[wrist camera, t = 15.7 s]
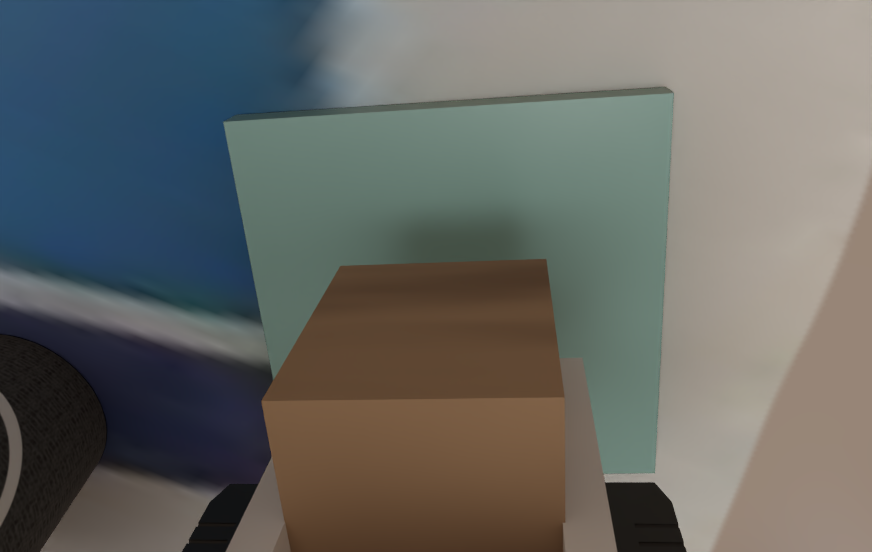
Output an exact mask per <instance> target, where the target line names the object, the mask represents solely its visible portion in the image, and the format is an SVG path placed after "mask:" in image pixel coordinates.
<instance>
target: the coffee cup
mask: <svg viewBox="0 0 872 552" xmlns="http://www.w3.org/2000/svg"><path fill="white" fill-rule="evenodd" d="M106 436H107V431H106V422H105V417H104V413H103V410H102V408H101V405H100V403H99V401H98V399H97V397H96V395H95V393H94V392H93V390H92V389H91V387H90V386H89V384H88V383H87V382H86V381H85V379H84V378H83V377H82V376H81V375H80V374H79V373H78V372H77V371H76V370H75V369H74V368H73V367H72V366H71V365H70V364H69V363H67V362H66V361H65V360H63V359H62V358H61V357H59V356H58V355H56V354H55V353H53V352H51V351H50V350H48V349H46V348H44V347H42V346H40V345H38V344H35V343H33V342H30V341H28V340H25V339H21V338H17V337H13V336H8V335H0V552H40V551H41V549H42V548H43V546H44V544H45V543H46V541H47V540H48V538H49V537H50V535H51V534H52V532H53V531H54V529H55V528H56V526H57V525H58V523H59V522H60V520H61V519H62V517H63V516H64V514H65V512H66V511H67V509H68V508H69V506H70V505H71V503H72V502H73V500H74V499H75V497H76V496H77V494H78V493H79V491H80V490H81V488H82V487H83V485H84V484H85V482H86V480H87V479H88V477H89V476H90V474H91V473H92V471H93V470H94V468H95V467H96V465H97V464H98V462H99V460H100V458H101V456H102V454H103V452H104V448H105V444H106Z"/></svg>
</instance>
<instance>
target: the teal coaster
mask: <svg viewBox="0 0 872 552" xmlns="http://www.w3.org/2000/svg"><path fill="white" fill-rule="evenodd" d="M673 99H674V93H673V92H672V91H670V90H669V89H668V88H666V87H658V88H642V89H627V90H612V91H596V92H581V93H566V94H550V95H535V96H519V97H504V98H489V99H473V100H458V101H442V102H427V103H412V104H396V105H381V106H365V107H350V108H335V109H319V110H304V111H289V112H273V113H258V114H242V115H235V116H233V117H231V118H229V119H228V120H226V121H224V122H223V123H224V128H225V133H226V138H227V143H228V149H229V154H230V159H231V164H232V169H233V174H234V180H235V185H236V190H237V195H238V200H239V206H240V211H241V216H242V221H243V226H244V231H245V237H246V242H247V247H248V252H249V257H250V262H251V268H252V273H253V278H254V283H255V288H256V293H257V299H258V304H259V309H260V314H261V319H262V324H263V330H264V335H265V340H266V345H267V350H268V355H269V361H270V366H271V371H272V376H273V380H274V378H275V377H276V375H277V373H278V372H279V370H280V368H281V366H282V365H283V363H284V361H285V360H286V358H287V356H288V354H289V353H290V351H291V349H292V348H293V346H294V344H295V343H296V341H297V339H298V337H299V336H300V334H301V332H302V331H303V329H304V327H305V325H306V324H307V322H308V320H309V319H310V317H311V315H312V313H313V312H314V310H315V308H316V307H317V305H318V303H319V301H320V300H321V298H322V296H323V295H324V293H325V291H326V289H327V288H328V286H329V284H330V283H331V281H332V279H333V278H334V276H335V274H336V272H337V271H338V269H339V267H340V266H350V265H380V264H409V263H438V262H467V261H497V260H526V259H546V260H547V267H548V275H549V283H550V290H551V298H552V305H553V313H554V320H555V328H556V336H557V343H558V351H559V358H583V364H584V369H585V375H586V381H587V386H588V392H589V397H590V403H591V408H592V414H593V419H594V425H595V431H596V436H597V442H598V447H599V453H600V458H601V464H602V469H603V474H613V473H655V459H656V439H657V419H658V399H659V379H660V359H661V339H662V319H663V299H664V279H665V259H666V239H667V219H668V199H669V179H670V159H671V139H672V119H673Z"/></svg>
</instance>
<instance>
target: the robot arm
mask: <svg viewBox="0 0 872 552" xmlns="http://www.w3.org/2000/svg"><path fill="white" fill-rule="evenodd" d="M560 366H561V373H562V381H563V388H564V396H565V523H563V552H686V548H685V547H684V542H683V538H682V535H681V532H680V528H678V522H677V518H676V515H675V512H674V508H673V505H672V502H671V501H670V499H669V498H668V497H667V496H666V495H665V494H664V493H663V492H662V491H661V489H660V488H659V487H658V486H657V485H656V484H655V483H605V480H604V475H603V469H602V464H601V458H600V453H599V447H598V442H597V436H596V431H595V425H594V419H593V414H592V408H591V403H590V397H589V392H588V386H587V381H586V375H585V369H584V364H583V358H560ZM182 552H291V550H290V545H289V540H288V535H287V530H286V525H285V522H284V517H283V512H282V507H281V501H280V496H279V491H278V486H277V480H276V475H275V470H274V465H273V460H272V457H271V459H270V462H269V464H268V466H267V468H266V470H265V472H264V474H263V476H262V478H261V480H260V482H259V484H230V485H229V486H227V487H226V488H225V489H224V490H223V491H222V492H221V493H220V494H219V495H217V496H216V497H215V498H214V499H213V500H212V501H211V502H210V503H209V505H208V507H207V508H206V510H205V512H204V514H203V515H202V517H201V519H200V521H199V525H198V527H196V528H195V530H194V532H193V533H192V535H191V537H190V539H189V544H186V546H185V548H184V549H183V551H182Z"/></svg>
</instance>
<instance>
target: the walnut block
mask: <svg viewBox="0 0 872 552" xmlns="http://www.w3.org/2000/svg"><path fill="white" fill-rule="evenodd" d="M261 402H262V408H263V413H264V418H265V423H266V428H267V434H268V439H269V444H270V449H271V454H272V460H273V465H274V470H275V475H276V480H277V486H278V491H279V496H280V501H281V507H282V512H283V517H284V522H285V525H286V530H287V535H288V540H289V545H290V550H291V552H563V523H565V396H564V388H563V381H562V373H561V366H560V358H559V351H558V343H557V336H556V328H555V320H554V313H553V305H552V298H551V290H550V283H549V275H548V267H547V260H546V259H526V260H497V261H467V262H438V263H409V264H380V265H350V266H340V267H339V269H338V271H337V272H336V274H335V276H334V278H333V279H332V281H331V283H330V284H329V286H328V288H327V289H326V291H325V293H324V295H323V296H322V298H321V300H320V301H319V303H318V305H317V307H316V308H315V310H314V312H313V313H312V315H311V317H310V319H309V320H308V322H307V324H306V325H305V327H304V329H303V331H302V332H301V334H300V336H299V337H298V339H297V341H296V343H295V344H294V346H293V348H292V349H291V351H290V353H289V354H288V356H287V358H286V360H285V361H284V363H283V365H282V366H281V368H280V370H279V372H278V373H277V375H276V377H275V378H274V380H273V382H272V384H271V385H270V387H269V389H268V390H267V392H266V394H265V396H264V397H263V399H262V401H261Z"/></svg>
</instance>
